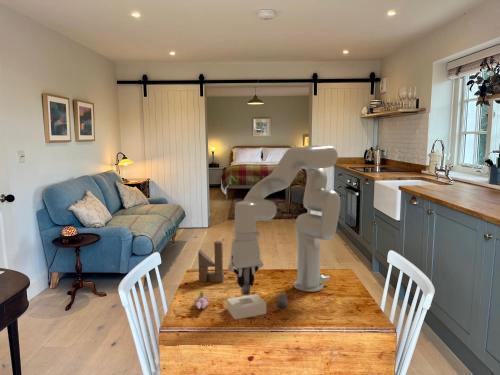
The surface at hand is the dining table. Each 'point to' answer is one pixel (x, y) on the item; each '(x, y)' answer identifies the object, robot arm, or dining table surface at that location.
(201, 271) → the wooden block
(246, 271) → the long pin
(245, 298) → the hole block
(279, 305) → the short pin
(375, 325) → the dining table surface
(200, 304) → the pink toy figurine
